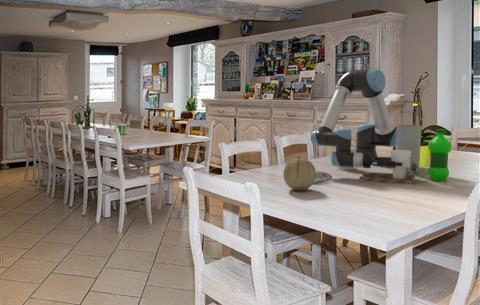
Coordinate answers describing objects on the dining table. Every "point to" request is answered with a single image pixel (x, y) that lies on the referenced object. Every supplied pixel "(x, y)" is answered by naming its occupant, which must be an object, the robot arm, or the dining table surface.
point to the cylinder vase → (409, 142)
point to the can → (347, 167)
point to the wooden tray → (390, 177)
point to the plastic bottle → (439, 156)
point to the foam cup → (400, 156)
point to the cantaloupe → (299, 174)
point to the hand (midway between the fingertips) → (410, 162)
